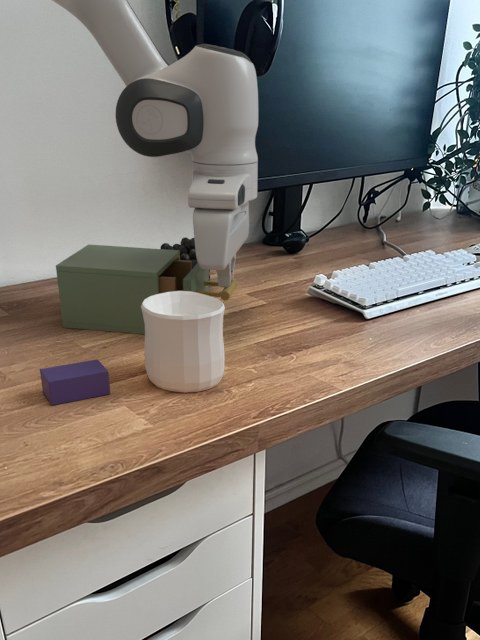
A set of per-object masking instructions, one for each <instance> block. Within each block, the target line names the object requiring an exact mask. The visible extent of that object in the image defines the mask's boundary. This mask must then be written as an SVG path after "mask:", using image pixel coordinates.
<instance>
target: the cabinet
mask: <svg viewBox="0 0 480 640" xmlns="http://www.w3.org/2000/svg"><path fill="white" fill-rule="evenodd" d="M175 260H180V251H179V250H165V249H160V248H149V247H133V246H119V245H118V246H117V245H104V244H89V243H88V244H87V245H85V246H84V247H82V248H80V249H79V250H77V251H76V252H74V253H73V254H71V255H70V256H68V257H67V258H65V259H63V260H62V261H61V262H59V263H57V264H56V265H55V272H56V279H57V289H58V296H59V305H60V315H61V321H62V328H64V329H77V330H90V331H100V332H102V331H104V332H114V333H127V334H138V335H145V323H144V318H143V313H142V309H141V305H142V303H143V301H144V300H145V299H146V298H148V297H150V296H153V295H156V294H159V276H160V275H161V274H162V273H163V272H164V271H165V270H166V269H167V268H168V267H169V266H170V265H171V264H172V263H173V262H174V261H175Z"/></svg>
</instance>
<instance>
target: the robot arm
mask: <svg viewBox="0 0 480 640" xmlns="http://www.w3.org/2000/svg"><path fill="white" fill-rule="evenodd" d="M51 1H52V2H54V3H55V4H57V5H59V6H60V7H62V8H63V9H65V10H66V11H67V12H69V14H71V15H72V16H74V17H75V19H77V20H78V22H80V23H81V24H82V25H83V26H84V27H85V28H86V29H87V30H88V31H89V33H90V34H91V35H92V37H93V39H94V40H95V41H96V43H97V44H98V46H99V47H100V49H101V50H102V52H103V53H104V54H105V56H106V57H107V59H108V61H109V62H110V64H111V66H112V67H113V68H114V70H115V71H116V73H117V74H118V76H119V78H120V79H121V81H122V82H123V84H124V85H125V87H124V89H123V90H122V91H121V93H120V94H119V96H118V99H117V102H116V106H115V123H116V127H117V130H118V133H119V135H120V137H121V139H122V140H123V142H124V143H125V144H126V145H127V147H129V148H130V149H131V150H132V151H133V152H135V153H137V154H139V155H141V156H145V157H148V158H153V159H161V158H166V157H169V156H171V155H175V154H181V153H190V155H191V183H190V187H189V189H188V191H187V205H188V207H189V208H191V209H193V212H192V226H193V228H192V229H193V238H194V240H195V250H196V258H197V262H198V265H199V267H200V268H201V269H209V270H210V271H212V270H213V271H216V274H217V281H218V286H217V287H219V288H225V287H226V288H228V287H229V286H230V285H231V283H232V282H233V280H235V275H234V274H235V273H234V272H235V265H236V258H237V253H238V251H240V249H241V247H242V246H243V245H244V243H245V242H246V240H247V239H248V238H249V234H250V204H249V203H250V202H251V201H254V200H255V199H257V198H258V178H259V175H258V173H259V171H258V170H259V157H258V156H259V155H258V153H257V148H256V137H257V132H258V128H259V88H258V78H257V71H256V68H255V67H256V66H255V65H254V63H253V61H251V59H250V57H249V56H247V54H245V53H243V52H242V51H240V50H235V49H232V48H228V47H223V46H218V45H214V44H209V43H201V44H196V45H194V47H193V48H192V49H191V50H190V51H189V52H188V53H187V54H186V55H184V56H183V57H181V58H179V59H178V60H177V61H174V62H173V63H171V64H169V63H168V61H167V60H165V58H164V57H163V55H162V54H161V52H160V50H159V49H158V48H157V46H156V44H155V43H154V41H153V40H152V38H151V36H150V35H149V33H148V32H147V30H146V29H145V27H144V25H143V23H142V22H141V20H140V19H139V17H138V15H137V14H136V12H135V10H134V9H133V8H132V6H131V4H130V3H129V1H128V0H51ZM249 201H250V202H249Z"/></svg>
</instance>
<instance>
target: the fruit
mask: <svg viewBox="0 0 480 640" xmlns="http://www.w3.org/2000/svg"><path fill="white" fill-rule="evenodd" d="M159 247H160V248H159V249H165V250H179V251H180V260H188V261H192V269H193V268H194V267H195V265H196V264H197V263H198V262H197V258H196V250H195V240H194V237H191V238H188V237H187V236H186V237H182V238H181V241H180V242H179V243H175V244H173V245H170V244H169V243H168V242H164V243H162V244H161V245H160V246H159ZM210 271H211V270H209V281H211V274H210Z"/></svg>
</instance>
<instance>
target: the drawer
mask: <svg viewBox="0 0 480 640" xmlns="http://www.w3.org/2000/svg"><path fill="white" fill-rule="evenodd" d="M209 274H210V272H209V269H201V268H200V267H199V265H198V263H197V264H196V265H195V267H194V268H193V269H192V261H188V260H175V261H174V262H173V263H172V264H171V265H170V266H169V267H168V268H167V269H166V270H165V271H164V272H163V273H162V274H161V275H160V276H159V294H161V293H166V292H172V291H191V292H196V293H201V294H204V295H208V296H211V297H214V298H220V300H222V301H225V302H226V301H229V300H230V298H231V296H232V295H233V294H234V291H235V290H236V289H237V287H238V282H237V281H236V280H235V279H234V280H233V282H232V283H231V285H230V286H229V287H228V288H226V287H223V288H222V291H211V290H210V287H219V286H218V280H214V281H213V280H210V281H209Z"/></svg>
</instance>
